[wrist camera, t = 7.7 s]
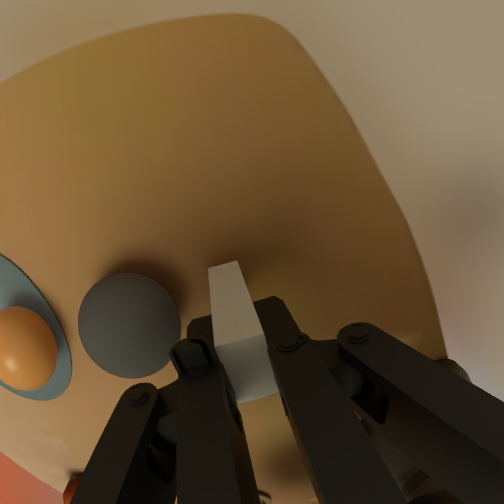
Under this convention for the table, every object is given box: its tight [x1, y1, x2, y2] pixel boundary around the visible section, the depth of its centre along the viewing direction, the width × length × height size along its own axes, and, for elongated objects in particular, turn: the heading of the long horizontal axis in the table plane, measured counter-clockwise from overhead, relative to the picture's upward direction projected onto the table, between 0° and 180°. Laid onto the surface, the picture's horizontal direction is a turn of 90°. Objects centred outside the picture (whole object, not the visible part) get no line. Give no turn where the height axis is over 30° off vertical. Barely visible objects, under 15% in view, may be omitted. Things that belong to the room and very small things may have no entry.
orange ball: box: [0, 306, 58, 391], centre depth 13 cm, size 6×6×6 cm
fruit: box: [63, 475, 82, 504], centre depth 19 cm, size 8×8×8 cm
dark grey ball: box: [78, 272, 181, 379], centre depth 13 cm, size 6×6×6 cm
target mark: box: [0, 254, 72, 400], centre depth 15 cm, size 14×14×1 cm
